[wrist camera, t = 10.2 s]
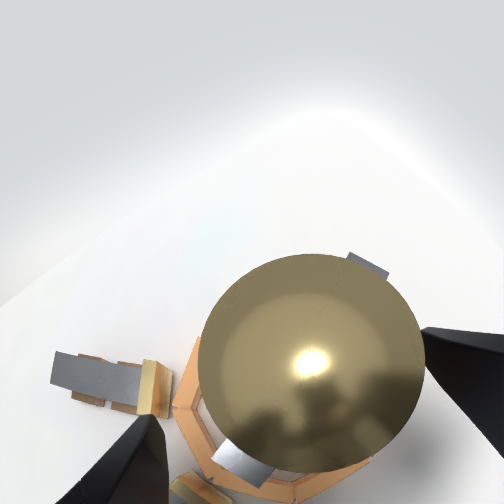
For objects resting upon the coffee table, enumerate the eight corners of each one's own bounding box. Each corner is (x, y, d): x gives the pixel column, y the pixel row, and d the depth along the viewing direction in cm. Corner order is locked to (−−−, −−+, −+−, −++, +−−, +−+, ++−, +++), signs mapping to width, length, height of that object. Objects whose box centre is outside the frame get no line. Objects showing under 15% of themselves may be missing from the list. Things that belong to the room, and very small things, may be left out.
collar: (240, 520, 11) (238, 528, 10) (157, 361, 17) (148, 356, 15) (406, 425, 14) (418, 424, 12) (314, 285, 19) (318, 274, 18)
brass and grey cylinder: (297, 473, 13) (365, 566, 2) (208, 417, 15) (83, 387, 4) (353, 386, 15) (492, 295, 5) (267, 337, 17) (265, 177, 7)
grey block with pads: (176, 372, 16) (156, 358, 13) (172, 420, 15) (150, 418, 12) (84, 357, 17) (53, 341, 14) (77, 399, 15) (44, 390, 12)
